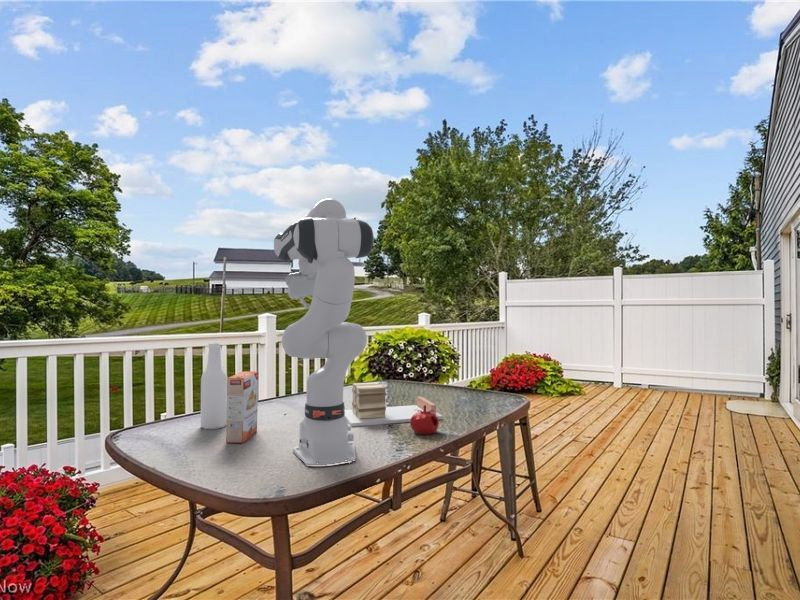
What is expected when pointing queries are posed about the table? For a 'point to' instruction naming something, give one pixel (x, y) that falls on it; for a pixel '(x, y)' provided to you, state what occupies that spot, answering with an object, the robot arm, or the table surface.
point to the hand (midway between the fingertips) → (319, 306)
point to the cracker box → (241, 406)
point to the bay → (393, 414)
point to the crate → (368, 400)
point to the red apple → (424, 422)
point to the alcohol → (214, 391)
